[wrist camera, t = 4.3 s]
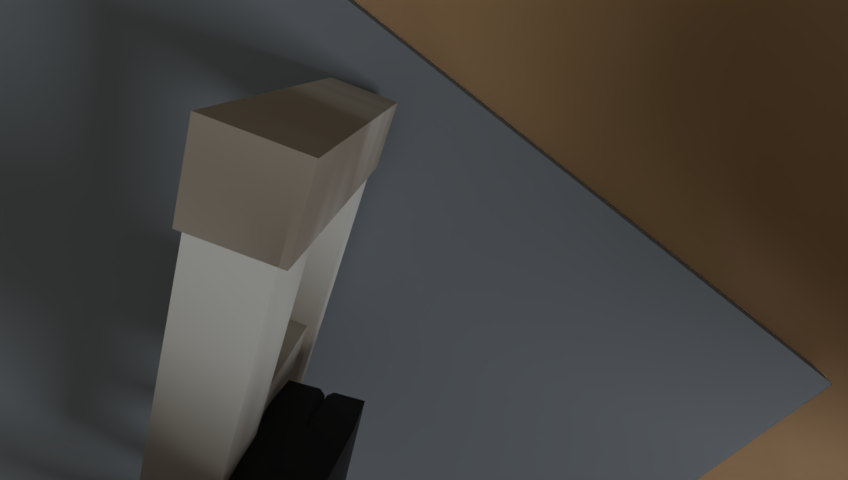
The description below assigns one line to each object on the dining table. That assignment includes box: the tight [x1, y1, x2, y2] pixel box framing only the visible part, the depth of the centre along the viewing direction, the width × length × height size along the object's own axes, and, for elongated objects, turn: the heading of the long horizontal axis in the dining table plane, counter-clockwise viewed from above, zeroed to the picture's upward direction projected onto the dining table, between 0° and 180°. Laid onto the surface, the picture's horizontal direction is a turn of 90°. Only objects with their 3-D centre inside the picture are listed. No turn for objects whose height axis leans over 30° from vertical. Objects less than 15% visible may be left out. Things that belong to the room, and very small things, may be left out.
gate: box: [140, 77, 398, 480], centre depth 9 cm, size 11×1×4 cm, turn 161°
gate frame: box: [0, 0, 832, 480], centre depth 9 cm, size 21×16×7 cm
